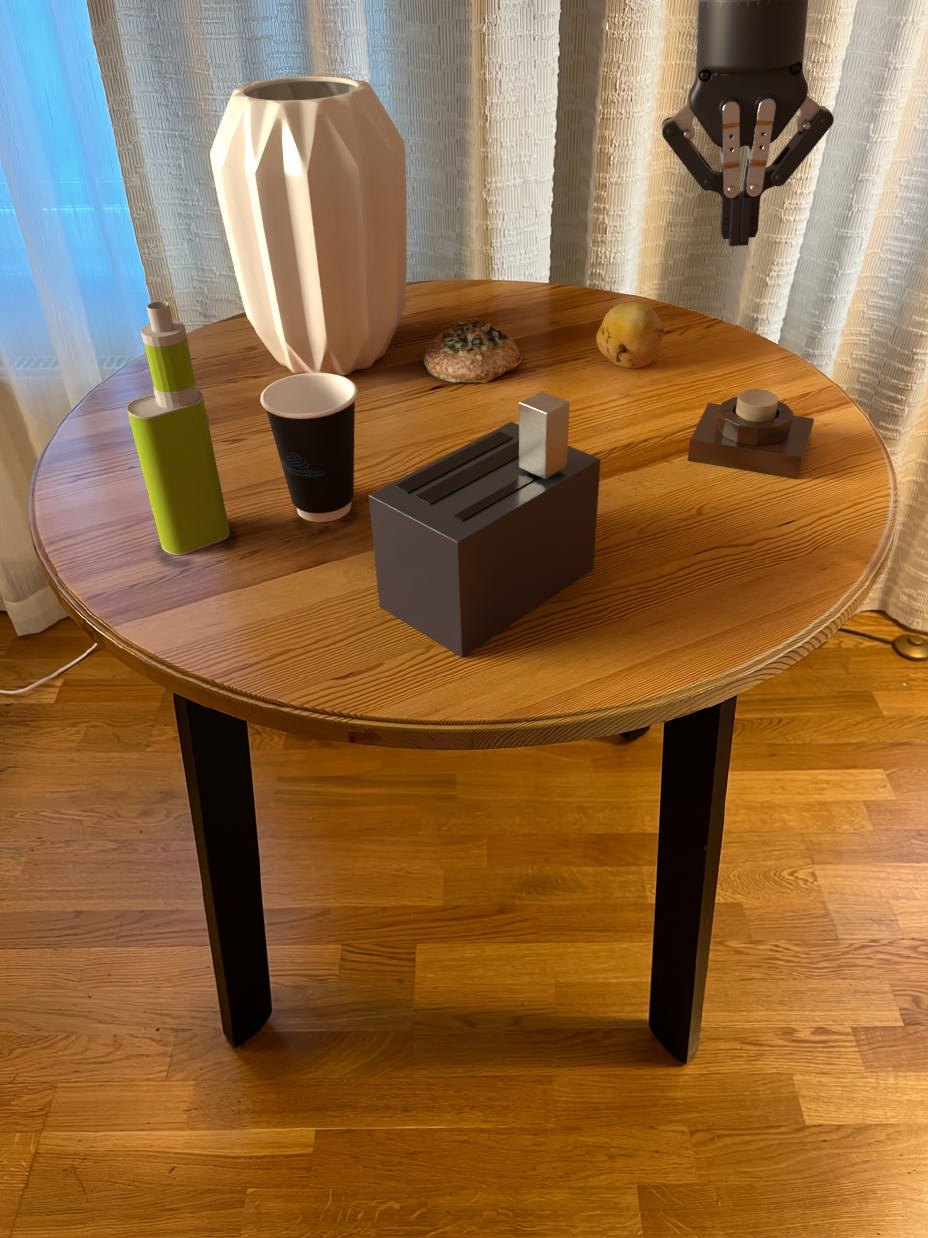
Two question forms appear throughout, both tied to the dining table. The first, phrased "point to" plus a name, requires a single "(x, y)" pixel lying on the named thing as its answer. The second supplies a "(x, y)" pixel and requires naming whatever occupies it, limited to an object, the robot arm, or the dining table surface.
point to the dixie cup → (315, 441)
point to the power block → (751, 440)
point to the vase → (315, 218)
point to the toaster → (482, 539)
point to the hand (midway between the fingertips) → (738, 242)
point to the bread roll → (471, 353)
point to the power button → (756, 405)
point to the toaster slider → (543, 434)
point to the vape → (177, 442)
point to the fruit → (630, 335)
